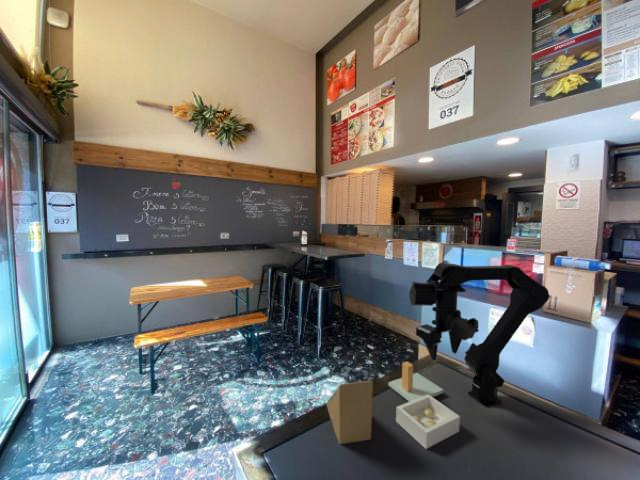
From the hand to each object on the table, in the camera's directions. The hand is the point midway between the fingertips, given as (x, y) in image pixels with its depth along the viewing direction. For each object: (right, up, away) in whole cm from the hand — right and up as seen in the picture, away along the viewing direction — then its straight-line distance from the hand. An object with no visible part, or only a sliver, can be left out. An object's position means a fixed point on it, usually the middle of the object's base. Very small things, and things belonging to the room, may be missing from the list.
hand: (444, 356), depth 82 cm
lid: (-7, -13, +4) cm, 15 cm away
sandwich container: (-30, -14, -8) cm, 34 cm away
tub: (-9, -14, -11) cm, 20 cm away
